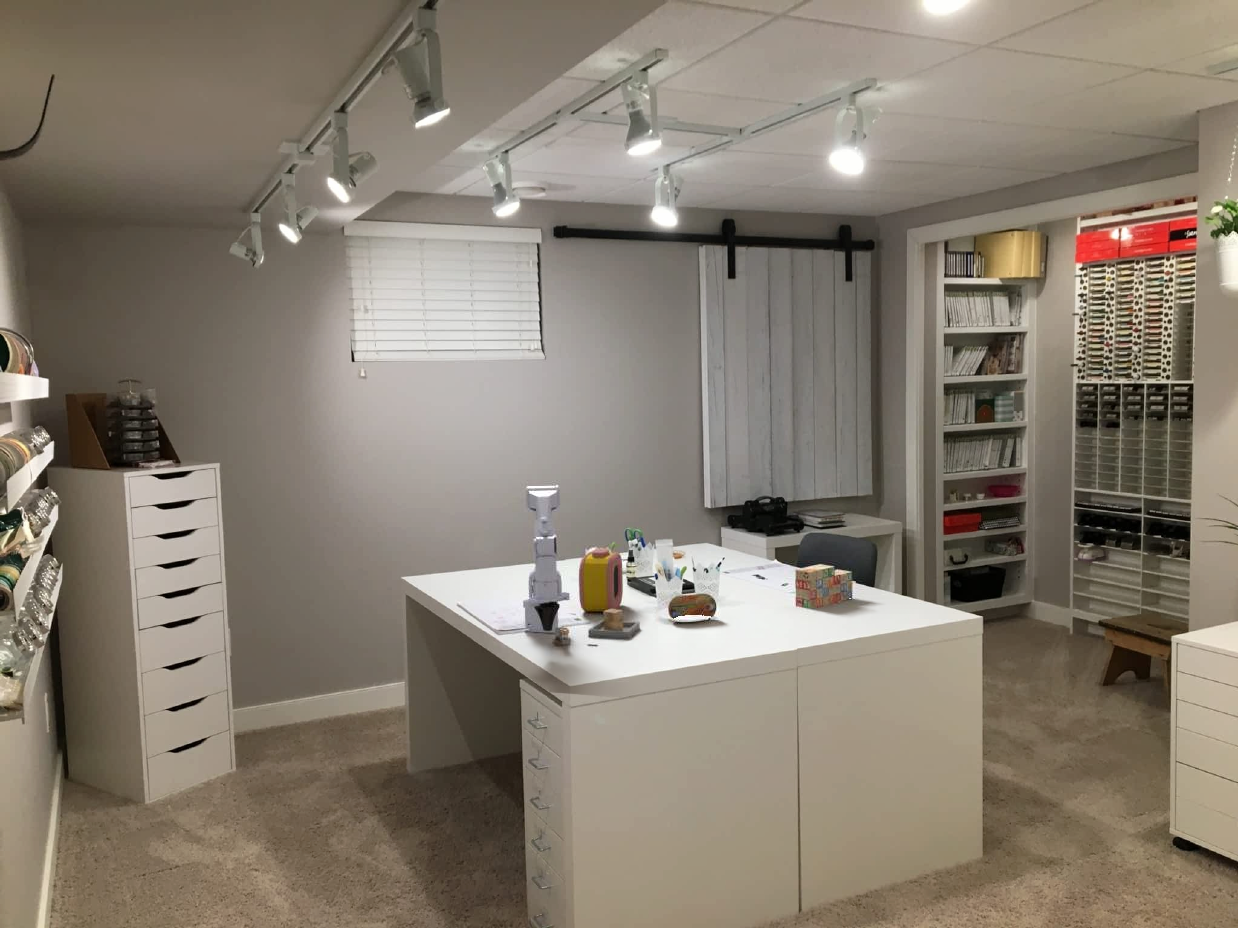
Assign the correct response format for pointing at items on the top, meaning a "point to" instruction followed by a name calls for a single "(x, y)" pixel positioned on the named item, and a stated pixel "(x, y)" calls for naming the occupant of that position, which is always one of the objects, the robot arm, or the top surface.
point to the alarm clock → (600, 580)
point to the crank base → (558, 642)
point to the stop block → (613, 620)
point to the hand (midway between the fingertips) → (547, 630)
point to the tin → (692, 605)
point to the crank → (562, 635)
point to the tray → (627, 632)
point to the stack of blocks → (822, 586)
